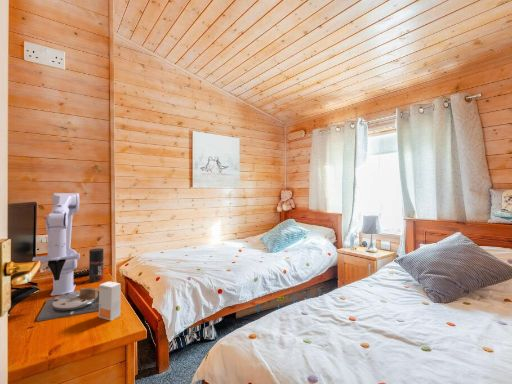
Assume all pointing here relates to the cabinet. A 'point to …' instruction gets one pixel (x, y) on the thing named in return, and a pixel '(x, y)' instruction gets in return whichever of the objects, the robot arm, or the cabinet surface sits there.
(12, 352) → the cabinet surface
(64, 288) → the robot arm
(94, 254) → the deodorant
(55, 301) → the flat grey disc
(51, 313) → the base plate
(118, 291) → the skincare box
